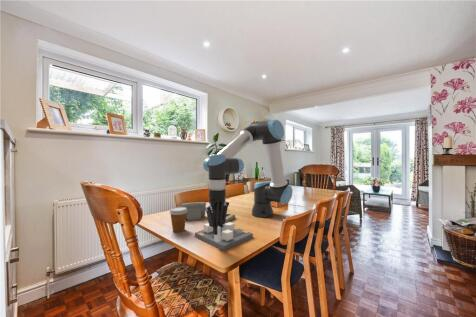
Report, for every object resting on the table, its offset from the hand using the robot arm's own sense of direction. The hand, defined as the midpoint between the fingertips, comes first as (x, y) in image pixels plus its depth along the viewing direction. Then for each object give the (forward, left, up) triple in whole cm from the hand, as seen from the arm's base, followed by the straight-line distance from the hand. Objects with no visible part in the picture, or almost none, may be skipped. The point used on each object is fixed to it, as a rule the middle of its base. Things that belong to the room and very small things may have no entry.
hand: (217, 240), depth 91 cm
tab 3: (-6, 0, -1) cm, 6 cm away
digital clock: (-17, -44, -4) cm, 48 cm away
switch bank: (-10, -7, -3) cm, 13 cm away
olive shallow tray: (-28, -25, -4) cm, 38 cm away
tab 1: (-6, -14, -1) cm, 15 cm away
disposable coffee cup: (+1, -32, -4) cm, 32 cm away
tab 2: (-14, -7, -1) cm, 16 cm away
